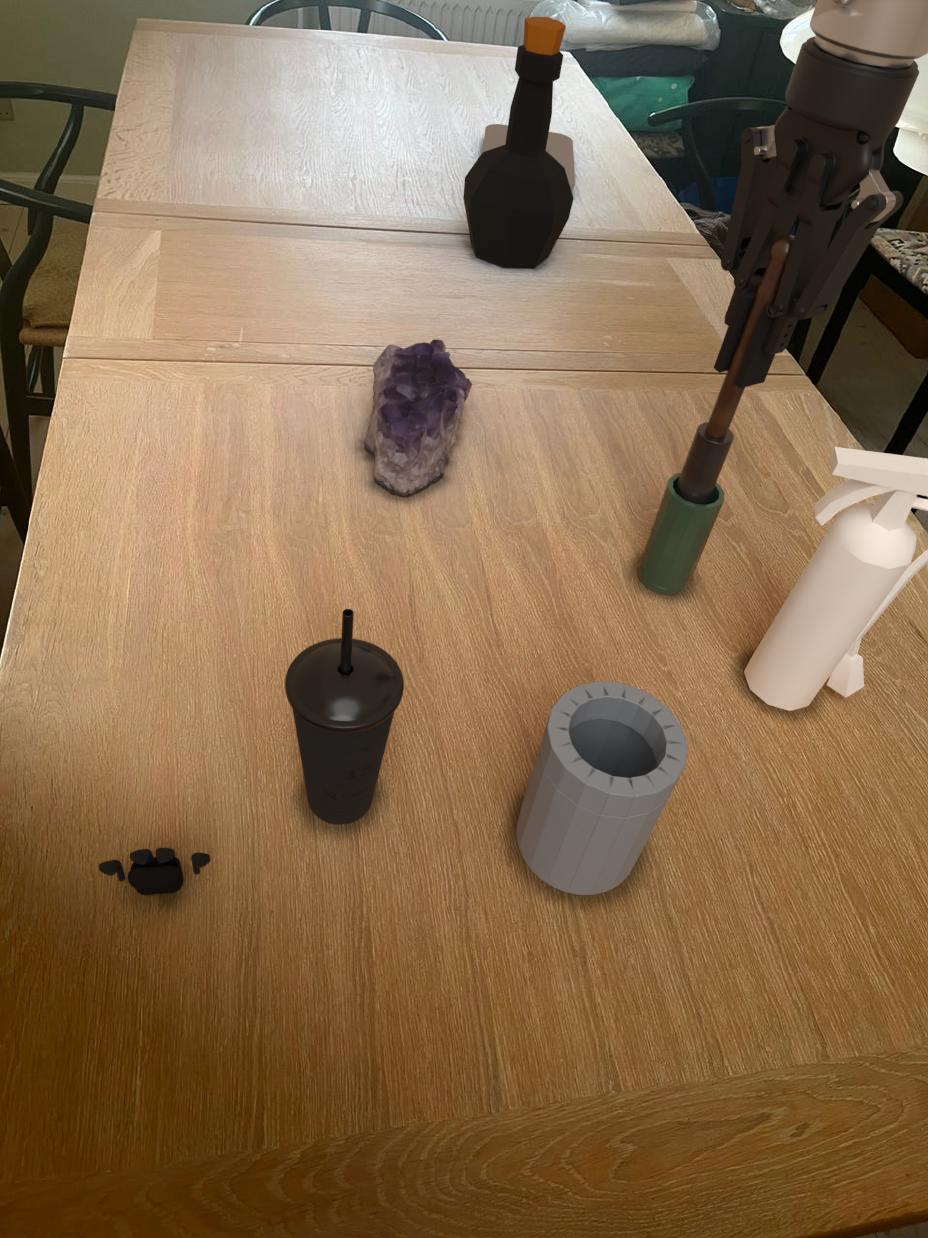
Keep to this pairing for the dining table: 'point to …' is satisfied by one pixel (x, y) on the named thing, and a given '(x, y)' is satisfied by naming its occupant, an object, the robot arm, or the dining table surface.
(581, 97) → the dining table surface
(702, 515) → the brush pot
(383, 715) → the drinking cup
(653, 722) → the gray cylindrical holder
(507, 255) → the bottle
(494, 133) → the tablet
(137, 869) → the wireless earbuds
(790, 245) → the brush
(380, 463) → the geode
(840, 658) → the fire extinguisher
